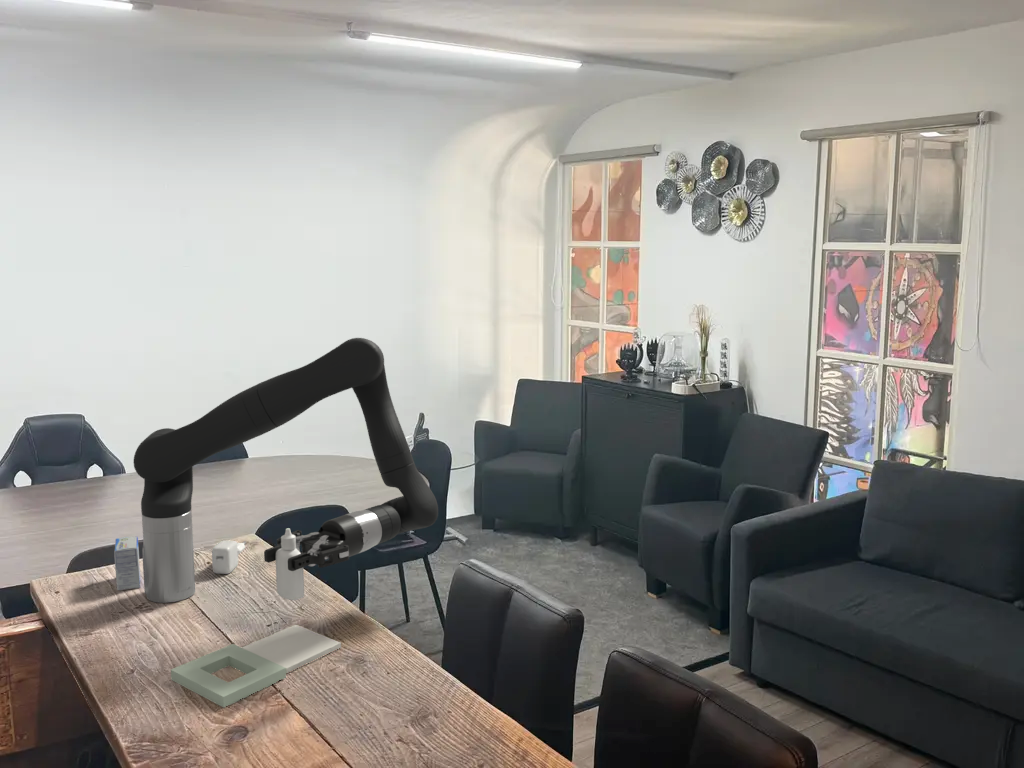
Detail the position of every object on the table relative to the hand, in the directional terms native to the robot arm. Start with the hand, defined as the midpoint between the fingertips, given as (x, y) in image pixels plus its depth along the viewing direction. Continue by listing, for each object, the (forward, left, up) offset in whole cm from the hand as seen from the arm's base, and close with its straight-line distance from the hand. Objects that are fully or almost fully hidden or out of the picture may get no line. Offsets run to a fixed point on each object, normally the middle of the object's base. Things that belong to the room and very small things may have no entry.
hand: (277, 560), depth 156 cm
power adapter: (-42, +20, -17) cm, 50 cm away
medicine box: (-50, +1, -17) cm, 53 cm away
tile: (0, +2, -17) cm, 17 cm away
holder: (0, -11, -17) cm, 20 cm away
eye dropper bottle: (0, +3, -7) cm, 8 cm away
